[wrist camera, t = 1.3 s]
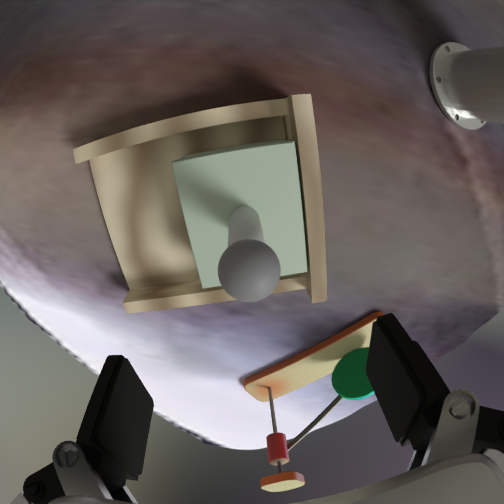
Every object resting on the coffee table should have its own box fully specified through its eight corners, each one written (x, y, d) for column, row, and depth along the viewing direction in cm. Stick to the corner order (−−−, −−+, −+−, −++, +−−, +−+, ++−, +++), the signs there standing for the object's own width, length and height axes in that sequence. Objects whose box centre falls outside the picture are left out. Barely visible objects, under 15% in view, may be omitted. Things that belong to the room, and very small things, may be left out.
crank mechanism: (261, 398, 46) (271, 495, 29) (240, 380, 43) (245, 487, 26) (391, 333, 41) (443, 424, 24) (381, 307, 39) (443, 407, 21)
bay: (293, 100, 27) (310, 93, 20) (311, 268, 35) (326, 300, 29) (90, 145, 27) (57, 153, 21) (135, 295, 35) (119, 329, 29)
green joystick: (283, 138, 27) (340, 155, 12) (295, 246, 32) (341, 350, 17) (183, 154, 27) (123, 192, 12) (207, 261, 33) (189, 373, 18)
